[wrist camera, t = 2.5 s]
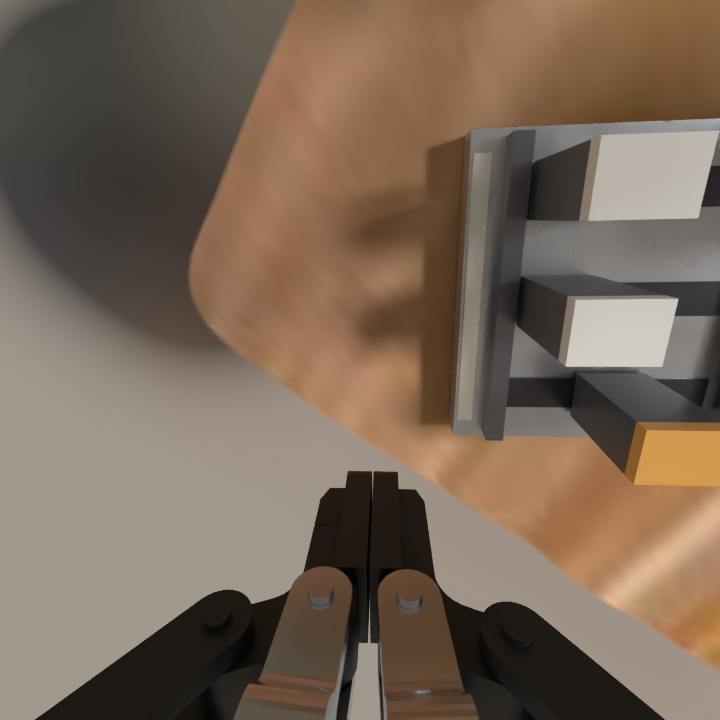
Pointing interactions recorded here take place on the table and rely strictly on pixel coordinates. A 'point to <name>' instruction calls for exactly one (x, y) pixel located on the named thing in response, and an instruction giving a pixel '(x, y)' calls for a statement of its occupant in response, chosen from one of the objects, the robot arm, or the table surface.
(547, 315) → the block
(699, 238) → the breaker panel
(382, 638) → the robot arm
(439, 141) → the table surface
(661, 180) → the block
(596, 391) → the breaker
